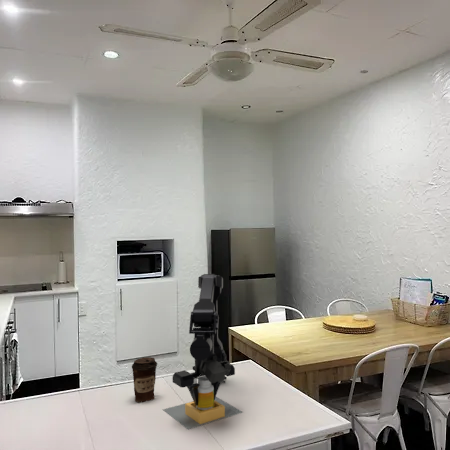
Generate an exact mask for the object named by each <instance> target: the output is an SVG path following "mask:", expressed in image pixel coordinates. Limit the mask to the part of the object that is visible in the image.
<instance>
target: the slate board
mask: <svg viewBox="0 0 450 450" xmlns="http://www.w3.org/2000/svg"><path fill="white" fill-rule="evenodd" d="M215 401H217V402H218V403H220V404H222V405H223V406H225V417H222V418H218V419H215V420H212V421H209V422H206V423H203V424H199V423H198V422H196V421H195V420H193V419H192V418H190V417H189V416H188V415H186V414H185V404H186V403H187V402H185V403H183V404H179V405H174V406H172V407H167V408H163V409H162V411H163V412H165V413H166V414H167V415H168V416H169V417H171V418H172V419H174V420H175V421H176V422H178V423H179V424H180V425H182V426H183V427H184V428H185V429H186V430H192V429H195V428H199V427H201V426H204V425H208V424H210V423H213V422H216V421H219V420H224V419H226V418H229V417H233V416H236V415H239V414H242V413H243V411H242V410H240V409H239V408H237V407H235V406H234V405H231V404H230V403H228V402H226V401H224V400H223V399H222V398H219V397H218V396H216V397H215ZM190 402H193V401H189V402H188V403H190Z"/></svg>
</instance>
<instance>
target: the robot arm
mask: <svg viewBox="0 0 450 450" xmlns="http://www.w3.org/2000/svg"><path fill="white" fill-rule="evenodd" d="M197 282H198V283H197V284H198V287H197V288H199V289H200V291H199V292H200V293H199V297H198V299H199V300H198V301H197V302H196V303H195V304H194V305H193V309H192V311H190V319H189V330H188V331H189V332H188V334H189V335H191V334H193V336H194V337H193V340H192V342H191V344H190V346H189V354H190V356H191V357H192V358H193V359H194V365H193V366H192V371H194V372H189V371H187V370H180V371H177V372H174V373H173V375H172V383H173V384H175V385H176V386H178V387H179V388H187V389H188V392H189V393H190V396H191V399H192V400H193V401H194V403H195V405H196V406H197V405H198V388H199V386H200V384H198V378H202V377H207V378H208V380H209V382H211V385H213V387H214V400H215V397H217V394H218V391H219V388H220V386H221V384H222V383H223V384H225V383H226V380H227V377H231V376H235V374H236V368H235V365H233V364H231V363H230V361H229V360H227V354H226V352H225V350H224V348H223V342H222V341H221V340H220V338H219V319H220V317H219V316H220V315H219V314H218V300H219V297H220V296H221V294H222V289H223V288H224V278H223V276H221V275H219V274H218V275H217V274H215V273H204V274H201V275H200V276H198V281H197Z"/></svg>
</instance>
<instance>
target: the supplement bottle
mask: <svg viewBox="0 0 450 450" xmlns="http://www.w3.org/2000/svg"><path fill="white" fill-rule="evenodd" d="M197 383H198V384H200V386H199V388H198V405H197V406H196V408H197V409H198V410H200V411H204V410H208V409H211V408H214V387H213V385H211V382H209V380H208V378H207V377H202V378H198V379H197Z"/></svg>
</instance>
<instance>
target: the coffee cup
mask: <svg viewBox="0 0 450 450" xmlns="http://www.w3.org/2000/svg"><path fill="white" fill-rule="evenodd" d="M157 366H158V362H157V361H156V358H155V357H146V356H145V357H141V358H137V359H135V360H134V361H133V363H132V365H131V369H132V379H133V390H134V391H133V393H134V401H135V402H137V403H145V402H150V401H153V400H155V384H156V379H157V378H156V375H157V374H156V372H157Z"/></svg>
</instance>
